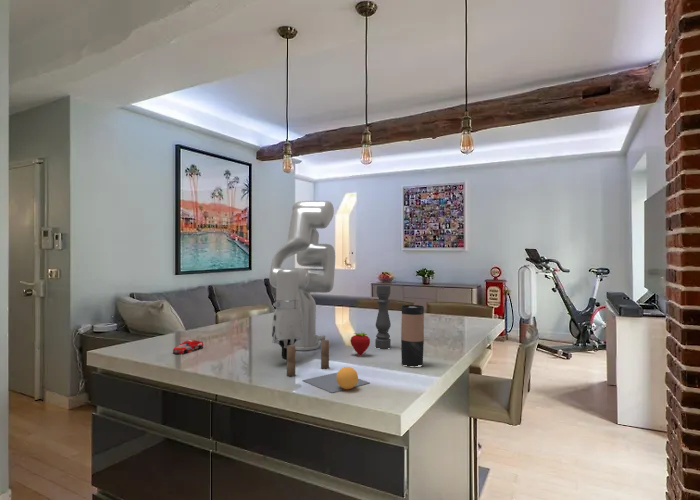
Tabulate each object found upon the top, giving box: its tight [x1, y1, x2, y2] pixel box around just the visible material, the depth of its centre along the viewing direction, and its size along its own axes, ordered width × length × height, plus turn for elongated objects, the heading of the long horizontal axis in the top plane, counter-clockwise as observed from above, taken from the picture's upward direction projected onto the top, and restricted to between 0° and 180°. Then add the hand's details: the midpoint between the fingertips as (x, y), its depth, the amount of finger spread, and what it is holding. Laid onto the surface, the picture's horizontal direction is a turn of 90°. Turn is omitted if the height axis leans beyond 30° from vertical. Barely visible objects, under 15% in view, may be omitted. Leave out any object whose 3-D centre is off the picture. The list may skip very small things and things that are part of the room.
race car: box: [172, 339, 204, 355], centre depth 158 cm, size 13×5×4 cm, turn 159°
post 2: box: [320, 339, 330, 370], centre depth 136 cm, size 3×3×9 cm
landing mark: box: [302, 371, 371, 394], centre depth 121 cm, size 14×14×1 cm
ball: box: [336, 366, 359, 390], centre depth 115 cm, size 6×6×6 cm
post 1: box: [286, 345, 296, 377], centre depth 127 cm, size 3×3×9 cm
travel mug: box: [400, 304, 425, 366], centre depth 142 cm, size 8×8×20 cm
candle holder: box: [374, 284, 392, 350], centre depth 168 cm, size 6×6×25 cm
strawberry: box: [350, 332, 371, 356], centre depth 154 cm, size 6×8×10 cm
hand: (286, 358), depth 142 cm, fingers closed
